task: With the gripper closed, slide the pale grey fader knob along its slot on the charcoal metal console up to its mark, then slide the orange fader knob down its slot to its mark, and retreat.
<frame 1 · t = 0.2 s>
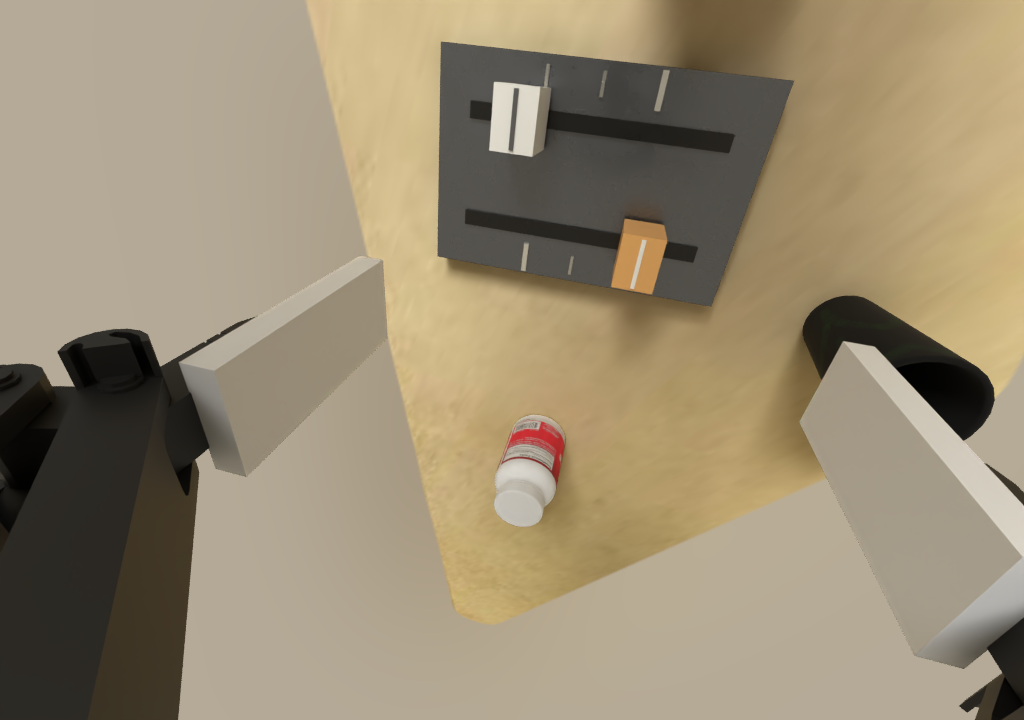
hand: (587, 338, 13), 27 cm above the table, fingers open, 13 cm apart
fader B: (638, 255, 34), point 5 cm above the table, slide at 5.0 cm
cup: (839, 325, 38), on the table
fader A: (520, 118, 31), point 5 cm above the table, slide at -5.0 cm
console: (587, 179, 37), on the table
pill bottle: (539, 433, 51), on the table
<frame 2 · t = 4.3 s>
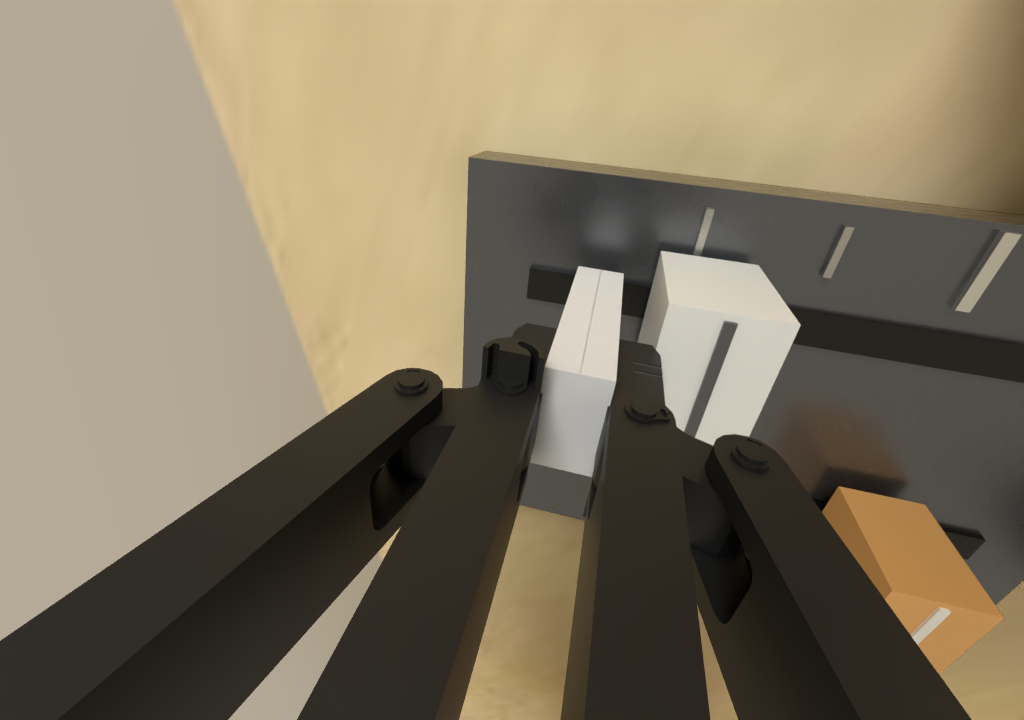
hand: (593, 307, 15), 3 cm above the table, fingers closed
fader B: (881, 579, 16), point 5 cm above the table, slide at 5.0 cm
fader A: (698, 344, 14), point 5 cm above the table, slide at -3.7 cm, touching gripper
console: (747, 389, 19), on the table
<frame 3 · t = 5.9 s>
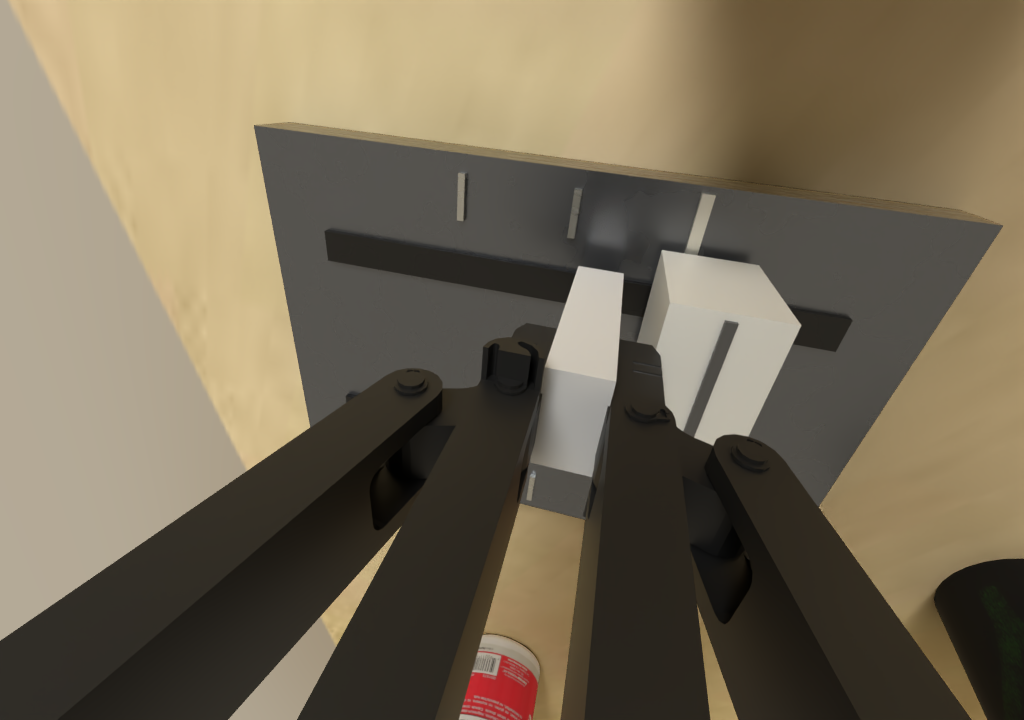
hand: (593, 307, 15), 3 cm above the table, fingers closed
cup: (1004, 594, 22), on the table
fader A: (698, 344, 14), point 5 cm above the table, slide at 4.5 cm, touching gripper
console: (556, 351, 20), on the table
pill bottle: (502, 652, 35), on the table
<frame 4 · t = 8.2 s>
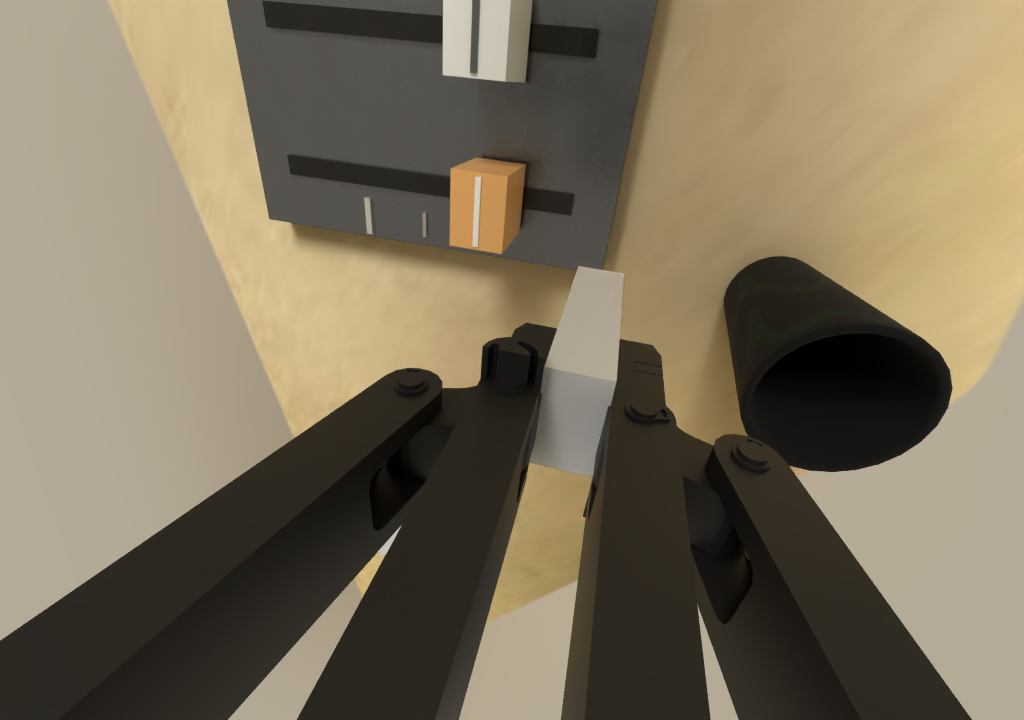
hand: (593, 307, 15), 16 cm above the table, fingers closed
fader B: (488, 204, 26), point 5 cm above the table, slide at 5.0 cm
cup: (770, 296, 30), on the table
fader A: (489, 29, 21), point 5 cm above the table, slide at 4.5 cm
console: (436, 110, 28), on the table
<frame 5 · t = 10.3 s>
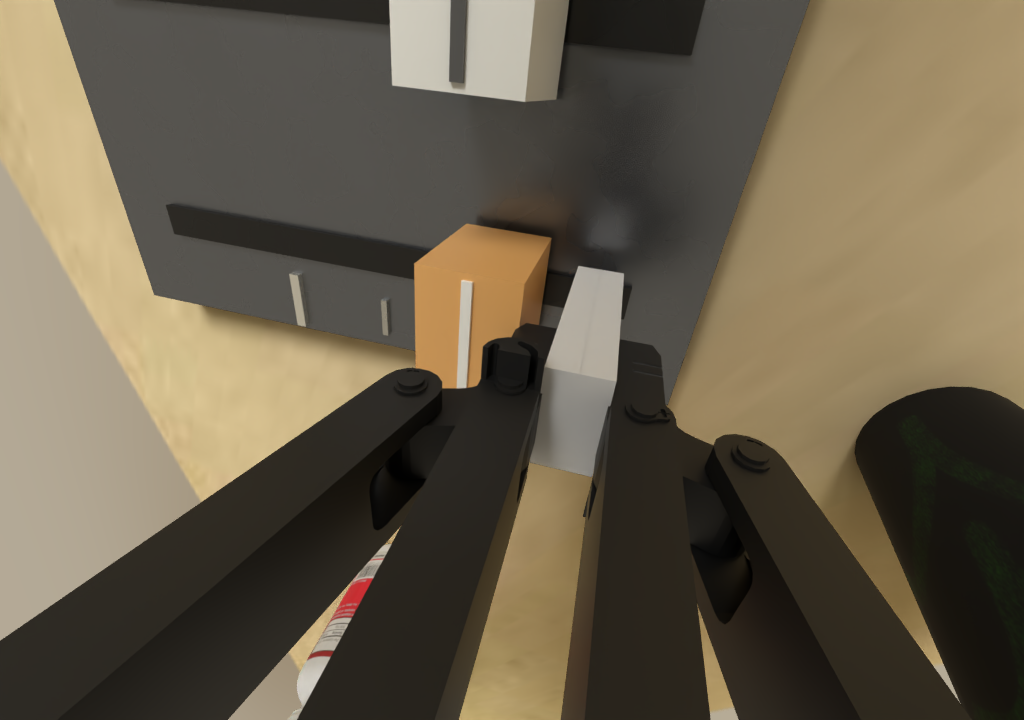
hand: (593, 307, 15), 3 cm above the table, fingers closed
fader B: (486, 310, 15), point 5 cm above the table, slide at 5.0 cm, touching gripper
cup: (933, 441, 19), on the table
console: (403, 140, 17), on the table
pill bottle: (410, 567, 32), on the table
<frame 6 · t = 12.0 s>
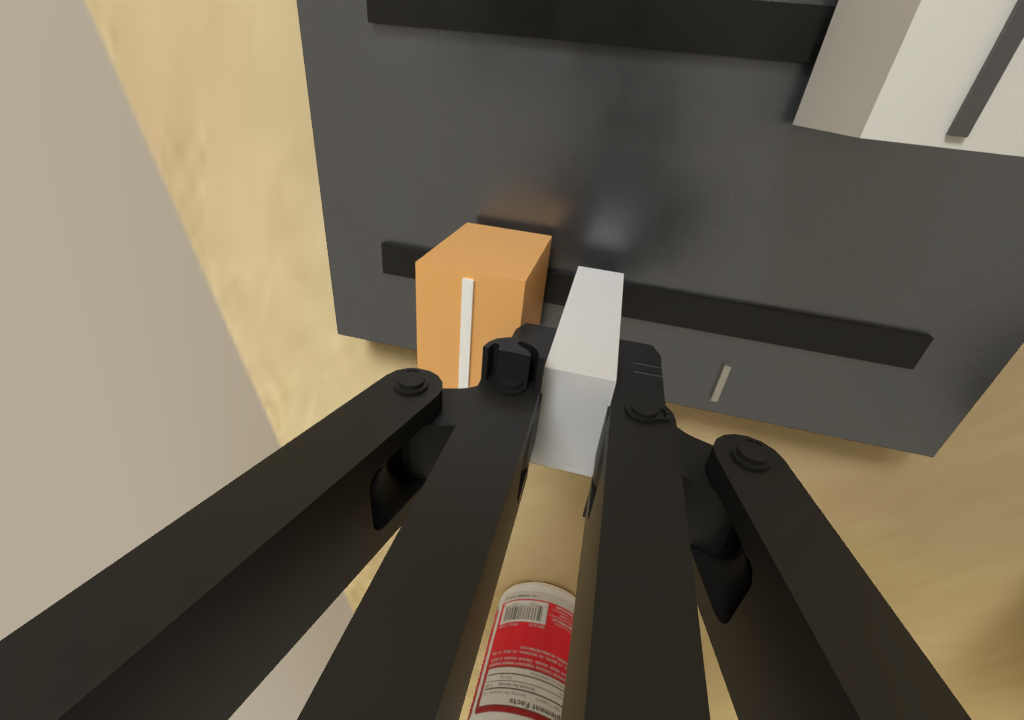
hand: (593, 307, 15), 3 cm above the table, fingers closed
fader B: (487, 308, 15), point 5 cm above the table, slide at -4.5 cm, touching gripper
fader A: (945, 28, 9), point 5 cm above the table, slide at 4.5 cm
console: (655, 173, 16), on the table
pill bottle: (545, 604, 31), on the table
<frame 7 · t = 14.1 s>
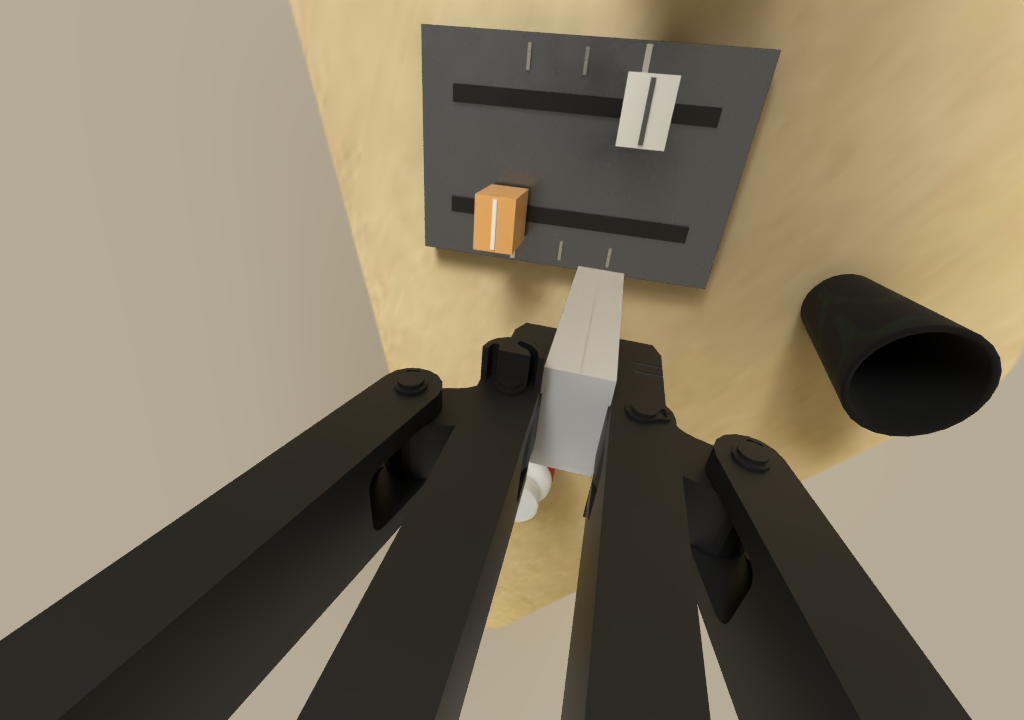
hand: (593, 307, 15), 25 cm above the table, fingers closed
fader B: (501, 218, 35), point 5 cm above the table, slide at -4.6 cm
cup: (839, 306, 37), on the table
fader A: (646, 111, 29), point 5 cm above the table, slide at 4.5 cm
console: (575, 161, 36), on the table
pill bottle: (535, 427, 50), on the table
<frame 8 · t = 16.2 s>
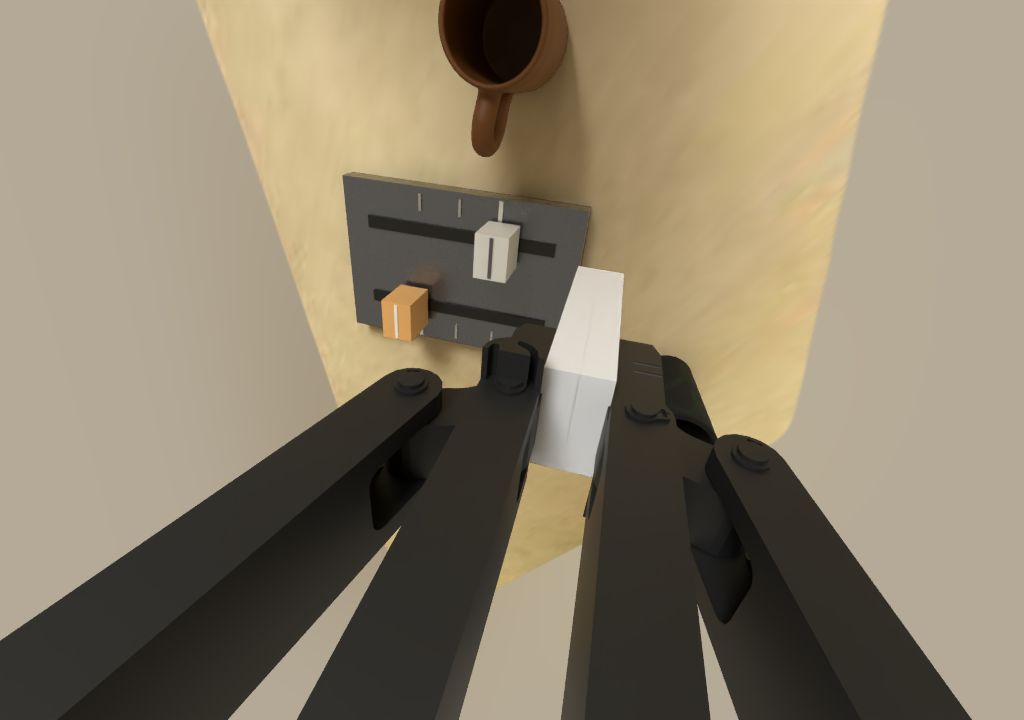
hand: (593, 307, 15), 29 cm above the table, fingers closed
mug: (518, 70, 38), on the table
fader B: (405, 312, 47), point 5 cm above the table, slide at -4.6 cm
cup: (664, 376, 49), on the table
fader A: (496, 251, 41), point 5 cm above the table, slide at 4.5 cm
console: (464, 267, 48), on the table
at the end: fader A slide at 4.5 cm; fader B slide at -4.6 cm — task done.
